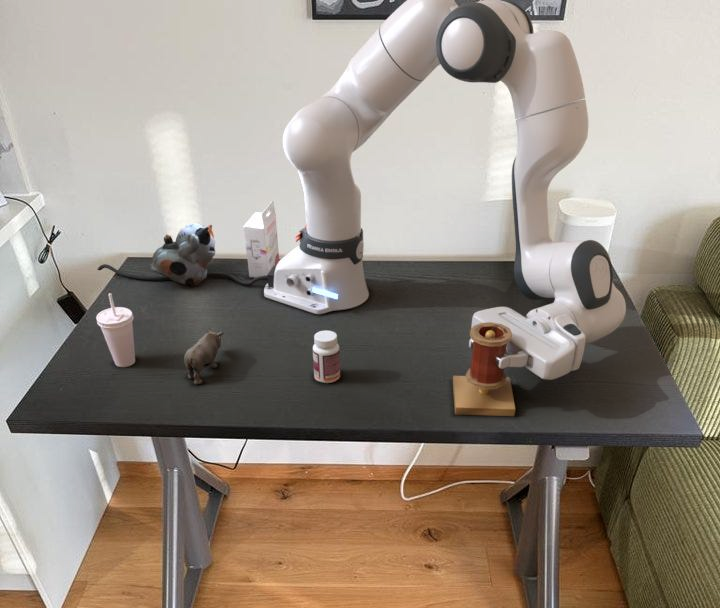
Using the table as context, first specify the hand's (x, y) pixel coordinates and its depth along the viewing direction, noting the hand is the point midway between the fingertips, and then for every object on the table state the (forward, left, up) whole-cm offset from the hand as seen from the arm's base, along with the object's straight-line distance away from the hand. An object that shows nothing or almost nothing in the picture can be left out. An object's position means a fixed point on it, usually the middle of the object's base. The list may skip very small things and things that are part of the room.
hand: (484, 353), depth 126 cm
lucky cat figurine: (-75, +23, -9) cm, 79 cm away
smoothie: (-65, -13, -9) cm, 67 cm away
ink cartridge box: (-60, +32, -9) cm, 68 cm away
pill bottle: (-28, -3, -9) cm, 29 cm away
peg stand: (0, +1, -9) cm, 9 cm away
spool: (+1, +1, -5) cm, 5 cm away
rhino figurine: (-50, -8, -9) cm, 51 cm away
